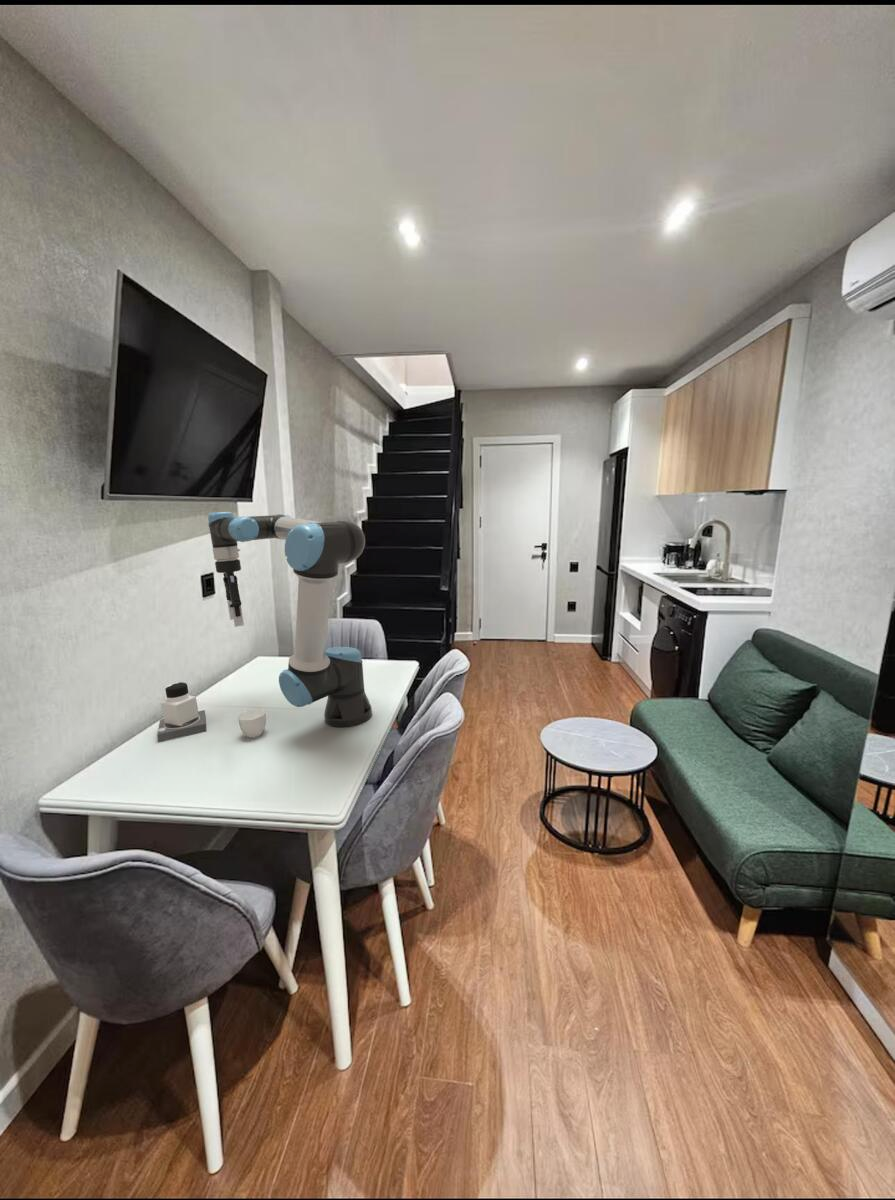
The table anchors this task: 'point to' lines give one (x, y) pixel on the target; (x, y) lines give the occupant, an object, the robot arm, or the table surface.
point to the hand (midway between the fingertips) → (236, 622)
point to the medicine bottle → (179, 705)
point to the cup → (252, 722)
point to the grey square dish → (182, 728)
